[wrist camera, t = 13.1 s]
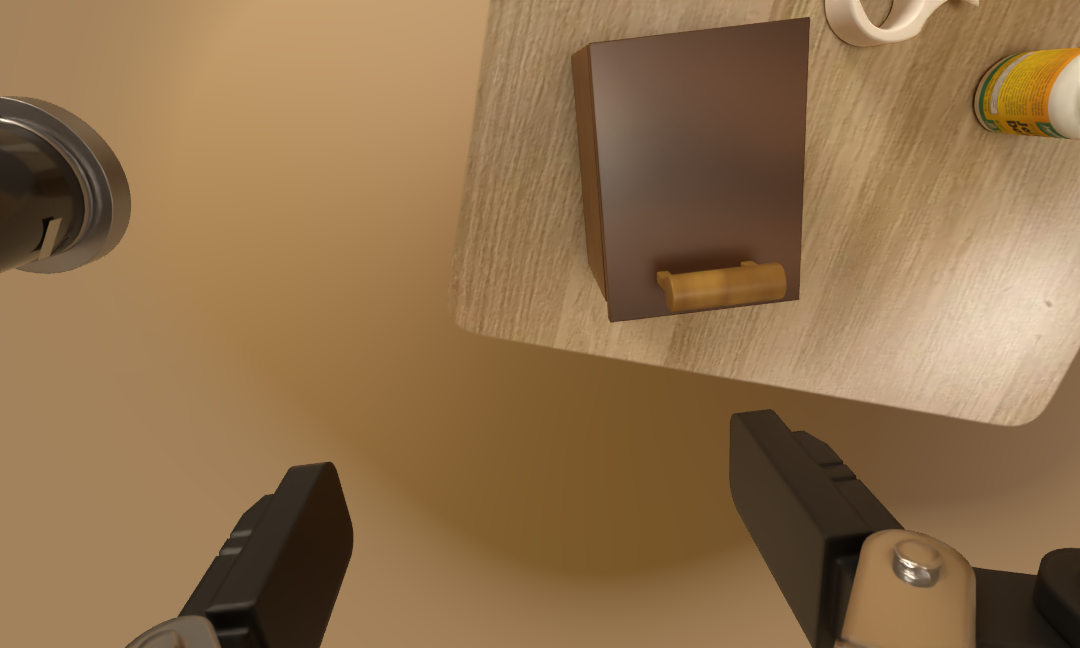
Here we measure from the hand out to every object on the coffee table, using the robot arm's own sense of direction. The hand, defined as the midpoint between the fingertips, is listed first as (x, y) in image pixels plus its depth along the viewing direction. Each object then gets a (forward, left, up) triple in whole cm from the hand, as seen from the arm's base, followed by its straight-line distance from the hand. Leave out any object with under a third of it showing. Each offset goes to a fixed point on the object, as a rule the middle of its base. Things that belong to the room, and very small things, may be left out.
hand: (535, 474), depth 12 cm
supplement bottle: (+16, +32, -33) cm, 49 cm away
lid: (+4, +10, -24) cm, 26 cm away
